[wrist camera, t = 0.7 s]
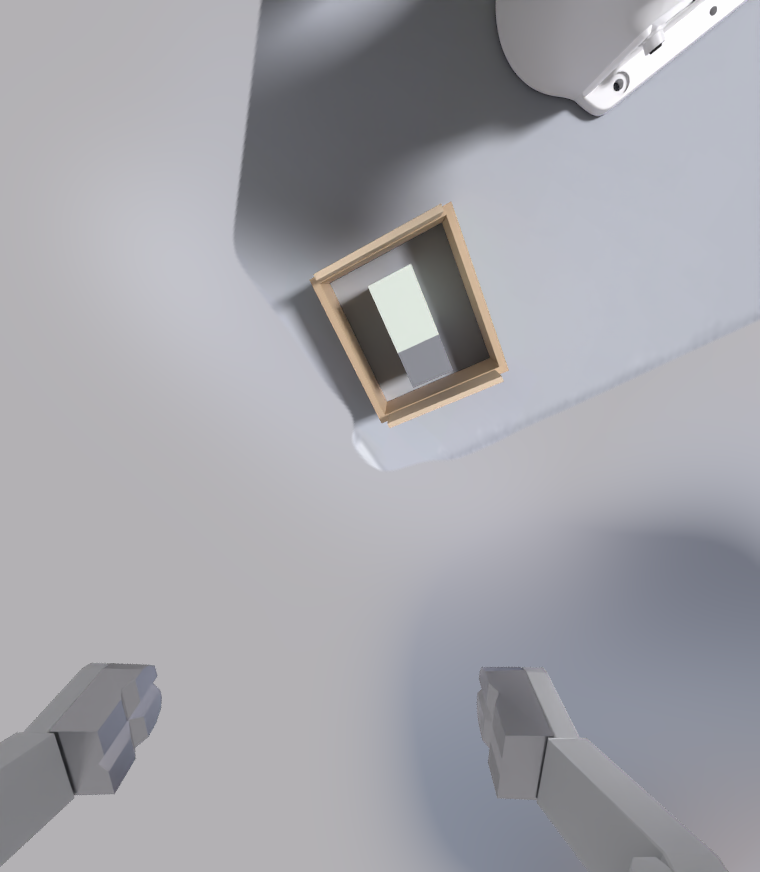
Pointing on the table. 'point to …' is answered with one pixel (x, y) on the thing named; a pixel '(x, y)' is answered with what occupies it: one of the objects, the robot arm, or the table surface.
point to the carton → (492, 367)
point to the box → (411, 326)
